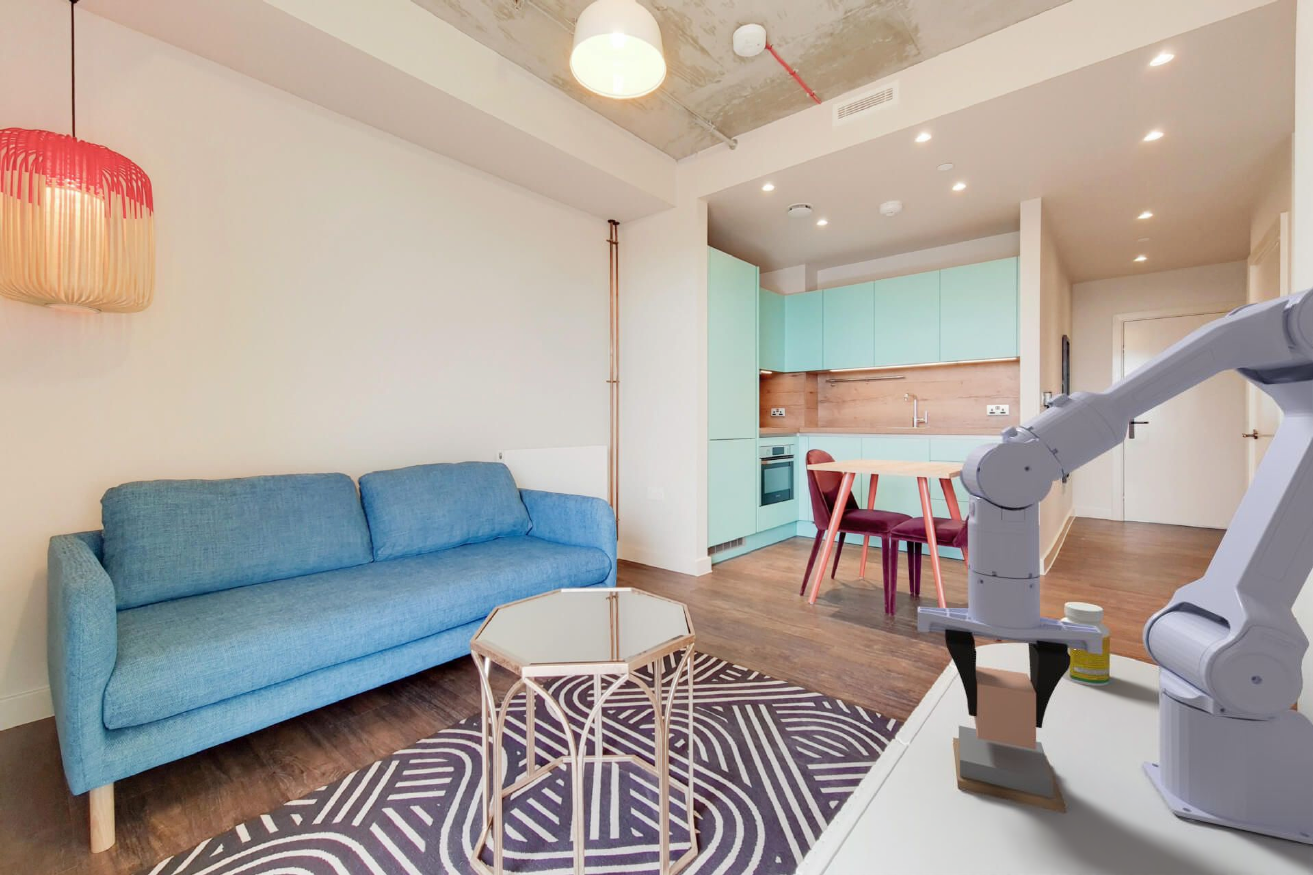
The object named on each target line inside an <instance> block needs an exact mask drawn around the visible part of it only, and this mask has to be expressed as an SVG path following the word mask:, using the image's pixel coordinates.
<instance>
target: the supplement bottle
mask: <svg viewBox="0 0 1313 875" xmlns="http://www.w3.org/2000/svg"><path fill="white" fill-rule="evenodd" d="M1063 611H1064V615H1065V617H1063V618H1061V619H1060V621H1065V622H1071V623H1076V624H1083V625H1091V626H1096V627H1097V628H1098V629H1099V630H1100V631H1101V632H1102V655H1100V654H1092V653H1088V652H1086V650H1080V649H1076V650H1074V649H1072V648H1068V654H1069V655H1070V657H1071V662H1070V666H1069V668H1068V670H1067V671H1066V673H1065V674H1064V675H1063V676H1062V678H1061V679H1065V680H1067V681H1068V682H1072V683H1075V684H1078V685H1083V686H1084V685H1085V686H1094V687H1100V686H1101V687H1102V686H1106V685H1108V684H1109V683H1110V672H1111V671H1110V669H1111V668H1110V667H1111V666H1110V663H1111V661H1110V660H1111V635H1110V634H1111V633H1110V629H1109V628H1108V626H1106V624H1105V623H1102V621H1103V620H1104V618H1105V614H1104V608H1102V606H1099V605H1096V604H1092V603H1087V602H1081V601H1068V602H1064V610H1063Z"/></svg>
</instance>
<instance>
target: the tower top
mask: <svg viewBox="0 0 1313 875" xmlns="http://www.w3.org/2000/svg"><path fill="white" fill-rule="evenodd" d="M958 738H959V763H960V776H961V777H965V778H969V779H973V780H977V781H981V782H986V783H990V784H994V785H998V786H1002V787H1006V788H1010V789H1014V790H1019V791H1023V792H1027V793H1031V794H1035V795H1039V796H1043V797H1047V798H1052V799H1053V779H1052V776H1051V773H1050V769H1049V766H1048V763H1047V760H1046V756H1047V755H1046V753H1045V750H1044V747H1043V743H1042V742H1040V741H1036V750H1035V749H1030V748H1024V747H1019V746H1014V745H1009V744H1004V743H998V742H993V741H988V740H983V739H978V737H977V731H976V728H973V727H968V726H962V725H958ZM1045 755H1046V756H1045Z"/></svg>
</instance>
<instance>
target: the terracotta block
mask: <svg viewBox="0 0 1313 875" xmlns="http://www.w3.org/2000/svg"><path fill="white" fill-rule="evenodd" d="M976 694H977V717H975V716H973V719H974V725H975V729H976V731H977V737H978V739H983V740H988V741H993V742H998V743H1004V744H1009V745H1014V746H1019V747H1024V748H1030V749H1035V750H1036V742H1037V727H1036V692H1035V690H1034V688H1033V685H1032V683H1031V681H1030V675H1029V674H1028V673H1024V672H1017V671H1012V670H1011V671H1010V670H1004V669H998V668H991V667H989V668H988V667H983V666H977V665H976Z"/></svg>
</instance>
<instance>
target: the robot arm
mask: <svg viewBox="0 0 1313 875" xmlns="http://www.w3.org/2000/svg"><path fill="white" fill-rule="evenodd" d="M1229 370H1233V371H1235V373H1237V374H1238V375H1240V376H1241V377H1243V378H1244V379H1246V380H1247V381H1248V382H1250V383H1251V384H1253V385H1254V386H1255V387H1257V388H1258V389H1260V390H1261V391H1262V392H1263V393H1265V394H1266V395H1268V396H1270V397H1271V398H1272V400H1273V401H1274V403H1276V404H1277V406H1278V407H1279V408H1280V410H1281V411H1282V413H1283V419H1282V420H1281V422H1280V425H1279V426H1278V429H1277V430H1276V433H1275V434H1274V436H1273V439H1272V441H1271V442H1270V444H1269V446H1268V448H1267V449H1266V452H1265V455H1264V456H1263V458H1262V460H1261V462H1260V464H1259V466H1258V468H1257V470H1256V472H1255V474H1254V476H1253V478H1252V480H1251V482H1250V484H1249V486H1248V488H1247V490H1246V492H1245V494H1244V495H1243V498H1242V500H1241V502H1240V504H1239V506H1238V508H1237V510H1236V512H1235V514H1234V516H1233V517H1232V518H1231V519H1232V520H1231V521H1230V524H1229V526H1228V528H1227V529H1226V531H1225V534H1224V535H1223V538H1222V539H1221V542H1220V543H1219V546H1218V547H1217V549H1216V551H1215V553H1214V556H1213V557H1212V559H1211V561H1210V563H1209V565H1208V566H1207V567H1208V568H1207V569H1206V571H1205V573H1204V575H1203V577H1201V578H1199V579H1197V580H1194V581H1193V582H1190V583H1187V584H1186V585H1184V586H1182V587H1180V588H1178V589H1176V590H1175V592H1174V594H1173V596H1172V598H1170V601H1169V602H1168V603H1167V605H1166V606H1164V607H1163V608H1162V609H1160V610H1158V611H1156V612H1155V613H1154V614H1152V615H1151V617H1149V618H1148V620H1147V621H1146V622H1145V625H1144V627H1143V630H1142V644H1143V647H1144V649H1145V651H1146V653H1147V655H1148V656H1149V658H1150V659H1151V660H1152V661H1153V662H1154V663H1155V664H1156V665H1158V678H1159V680H1158V689H1159V690H1158V691H1159V692H1158V693H1159V696H1158V697H1159V698H1158V700H1159V701H1158V702H1159V703H1158V704H1159V708H1158V709H1159V713H1158V715H1159V722H1158V723H1159V726H1158V728H1159V763H1157V762H1156V763H1155V762H1150V761H1142V762H1141V768H1142V769H1143V770H1144V772H1145V773H1146V774H1147V776H1148V778H1149V780H1150V781H1151V782H1152V783H1153V786H1155V789H1156V790H1157V791H1158V793H1159V794H1160V796H1161V798H1162V799H1163V800H1164V802H1165V803H1166V804H1167V806H1168V808H1169V809H1170V811H1171V812H1172V813H1173V814H1175V815H1176V816H1179V817H1182V818H1186V819H1187V818H1188V819H1192V820H1196V821H1201V822H1205V823H1206V822H1207V823H1211V824H1215V825H1220V826H1225V827H1229V828H1235V829H1237V830H1244V831H1247V832H1253V833H1257V834H1262V835H1266V836H1271V837H1275V838H1280V839H1285V840H1289V841H1293V842H1298V843H1303V844H1309V845H1312V846H1313V723H1312V722H1311V720H1310V719H1309V718H1308V717H1307V716H1306V715H1305V714H1303V713H1301V712H1300V711H1298V710H1295V709H1292V707H1293V706H1294V705H1295V704H1296V703H1297V702H1298V701H1299V698H1300V696H1301V695H1302V691H1303V688H1304V687H1303V684H1304V679H1303V671H1302V665H1303V659H1304V657H1305V654H1306V653H1307V650H1308V649H1309V647H1310V642H1309V639H1308V637H1307V636H1306V633H1305V632H1304V630H1303V629H1302V627H1301V625H1300V624H1299V622H1298V620H1297V619H1296V617H1295V616H1294V614H1293V611H1292V608H1293V607H1294V604H1295V602H1296V600H1297V598H1298V597H1299V595H1300V593H1301V590H1302V589H1303V587H1304V585H1305V584H1306V582H1307V580H1308V578H1309V576H1310V574H1311V572H1312V570H1313V286H1312V287H1310V288H1307V289H1304V290H1301V291H1296V292H1294V293H1290V294H1287V295H1281V296H1279V297H1276V298H1274V299H1273V298H1272V299H1270V300H1266V301H1262V302H1257V303H1249V304H1246V305H1242V306H1240V307H1237V308H1235V309H1233V310H1232V311H1230V312H1229V313H1227V314H1226V315H1225V316H1223V317H1220V318H1217V319H1214V320H1213V321H1210V322H1207V323H1205V324H1203V325H1202V326H1200V327H1198V328H1197V329H1196V330H1194V331H1192V332H1191V333H1189V334H1187V335H1186V336H1184V337H1183V338H1182V339H1180V340H1179V341H1177V342H1175V343H1174V344H1173V345H1171V346H1169V347H1168V348H1167V349H1165V350H1163V351H1161V353H1158V354H1157V355H1156V356H1155V357H1152V358H1151V359H1150V360H1148V361H1147V362H1146V363H1143V364H1142V365H1141V366H1140V367H1138V368H1137V369H1135V370H1133V371H1131V372H1130V373H1129V374H1128V375H1126V376H1124V377H1123V378H1121V379H1120V380H1118V381H1116V382H1115V383H1113V384H1112V385H1111V386H1109V387H1107V388H1106V389H1104V390H1103V391H1102V392H1100V393H1097V392H1090V391H1084V390H1083V391H1082V390H1078V391H1075V392H1073V393H1071V394H1069V395H1068V394H1067V393H1065V392H1063V393H1058V394H1055V395H1054V396H1053V397H1051V398H1050V399H1048V400H1047V401H1046V404H1047V406H1048V408H1046V409H1044V410H1043V411H1042V412H1040V413H1039V414H1036V415H1035V416H1034V417H1032V418H1031V419H1029V420H1027V421H1025V422H1024V423H1022V424H1020V425H1018V426H1017V427H1014V426H1007V427H1006V428H1004V429H1003V430H1001V431H1000V432H999V433H1000V434H999V435H1001V437H1002V442H1000V443H999V442H998V443H996V442H993V443H986V444H981V445H980V446H978V447H976V448H974V449H973V450H972V451H971V452H969V454H968V455H967V456H966V460H965V461H964V462H963V463H962V464H963V465H962V467H961V468H962V470H959V472H958V477H959V481H960V484H961V485H962V487H963V489H964V490H965V491H966V492H967V494H969V495H968V520H967V568H968V569H967V571H968V572H967V577H968V578H967V583H968V584H967V590H968V591H967V592H968V594H967V595H968V596H967V597H968V603H967V605H968V607H967V608H962V607H959V608H957V607H955V608H954V607H925V606H917V631H918V632H919V633H920V632H921V633H931V632H939V633H944V638H945V639H944V640H945V645H946V649H947V650H948V653H949V655H950V658H952V661H953V663H954V666H955V668H956V670H957V672H958V675H959V677H960V679H961V682H962V686H963V689H964V692H965V695H966V702H967V711H968V716H970V717H974V716H975V717H977V694H976V666H977V649H976V641H975V637H978V638H984V639H985V638H986V639H994V640H1001V641H1009V642H1018V643H1023V644H1024V643H1025V644H1026V643H1027V644H1028V658H1029V659H1028V660H1029V679H1030V681H1031V683H1032V685H1033V688H1034V690H1035V692H1036V729H1037V728H1039V729H1042V728H1043V722H1044V717H1045V714H1046V710H1047V707H1048V704H1049V701H1050V699H1051V697H1052V695H1053V693H1054V691H1055V689H1056V687H1057V685H1058V683H1060V681H1061V679H1063V678H1062V676H1063V675H1064V674H1065V673H1066V671H1067V670H1068V668H1069V666H1070V662H1071V657H1070V655H1069V654H1068V648H1072V649H1080V650H1086V652H1088V653H1092V654H1100V655H1102V632H1101V631H1100V630H1099V629H1098V628H1097V627H1096V626H1091V625H1083V624H1076V623H1071V622H1065V621H1060V620H1061V619H1060V620H1059V619H1055V618H1049V617H1044V616H1043V617H1042V616H1041V574H1040V573H1041V565H1040V564H1041V557H1040V556H1041V555H1040V553H1041V551H1040V550H1041V548H1040V547H1041V546H1040V541H1041V540H1040V537H1041V536H1040V534H1041V533H1040V531H1041V529H1040V508H1039V507H1040V506H1039V505H1040V504H1039V503H1040V502H1043V501H1044V499H1045V498H1046V497H1047V496H1048V495H1049V493H1050V492H1051V488H1052V487H1053V484H1054V483H1053V482H1057V481H1059V480H1062V478H1064V477H1065V476H1067V475H1069V474H1071V473H1073V472H1074V471H1076V470H1077V469H1079V468H1080V467H1082V466H1084V465H1087V464H1088V463H1089V462H1092V461H1093V460H1095V459H1097V458H1098V457H1100V456H1102V455H1104V454H1105V453H1107V452H1109V451H1110V450H1112V449H1113V448H1116V447H1117V446H1119V445H1120V444H1122V443H1123V442H1124V441H1125V439H1126V437H1127V432H1128V428H1129V423H1130V422H1131V421H1132V420H1134V419H1136V418H1137V417H1139V416H1142V415H1143V414H1145V413H1146V412H1148V411H1151V410H1152V409H1154V408H1156V407H1158V406H1160V405H1162V404H1163V403H1165V402H1167V401H1169V400H1171V399H1173V398H1175V397H1176V396H1178V395H1180V394H1182V393H1184V392H1186V391H1188V390H1190V389H1192V388H1193V387H1195V386H1197V385H1199V384H1201V383H1202V382H1205V381H1206V380H1208V379H1210V378H1212V377H1214V376H1216V375H1217V374H1220V373H1221V372H1224V371H1229Z"/></svg>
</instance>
